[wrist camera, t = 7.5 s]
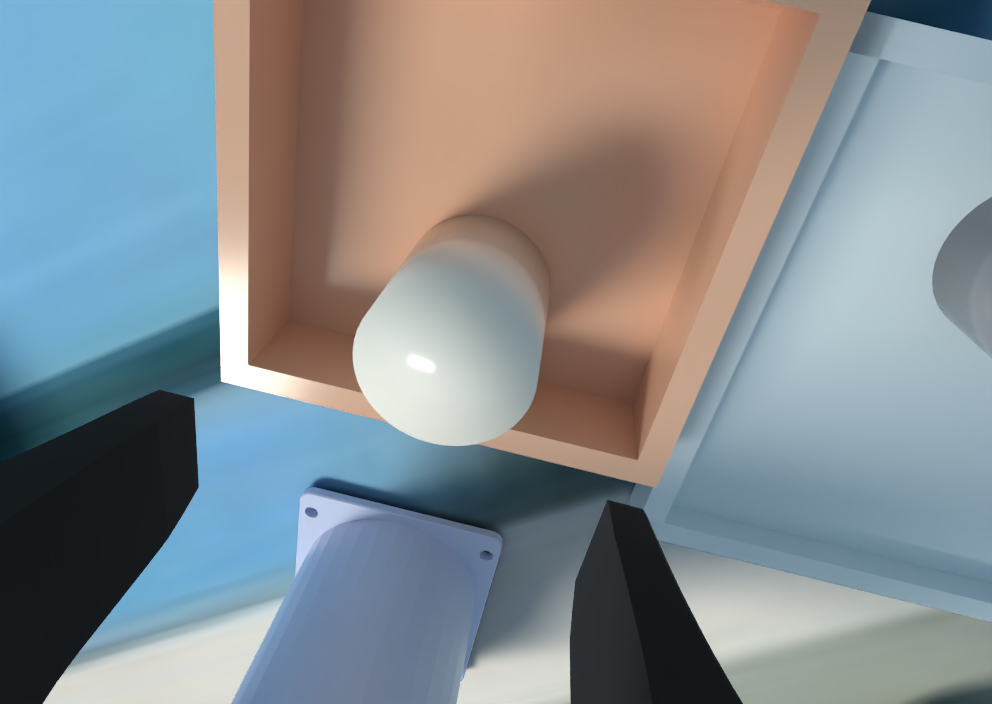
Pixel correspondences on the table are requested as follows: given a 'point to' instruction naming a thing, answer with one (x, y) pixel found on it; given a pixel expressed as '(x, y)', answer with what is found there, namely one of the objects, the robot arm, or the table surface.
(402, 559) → the robot arm
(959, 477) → the parts tray
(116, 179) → the table surface
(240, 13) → the terracotta dish
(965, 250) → the grey plastic cylinder
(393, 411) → the pale grey cylinder
